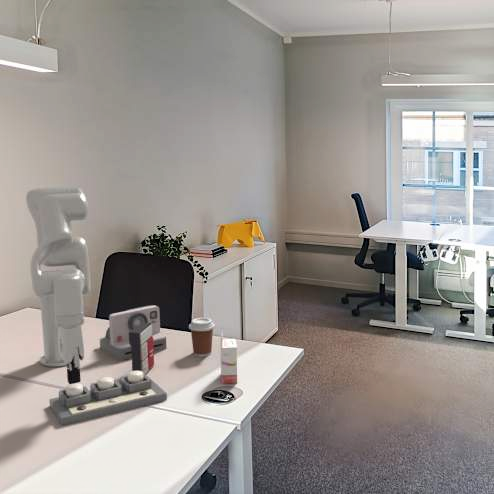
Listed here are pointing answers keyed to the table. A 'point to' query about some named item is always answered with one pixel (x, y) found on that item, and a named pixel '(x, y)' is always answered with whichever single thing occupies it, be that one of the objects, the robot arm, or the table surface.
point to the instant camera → (124, 323)
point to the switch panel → (106, 400)
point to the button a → (74, 390)
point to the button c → (135, 377)
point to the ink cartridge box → (228, 360)
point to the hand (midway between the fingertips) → (74, 382)
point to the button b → (105, 383)
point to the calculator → (142, 347)
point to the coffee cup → (202, 336)
